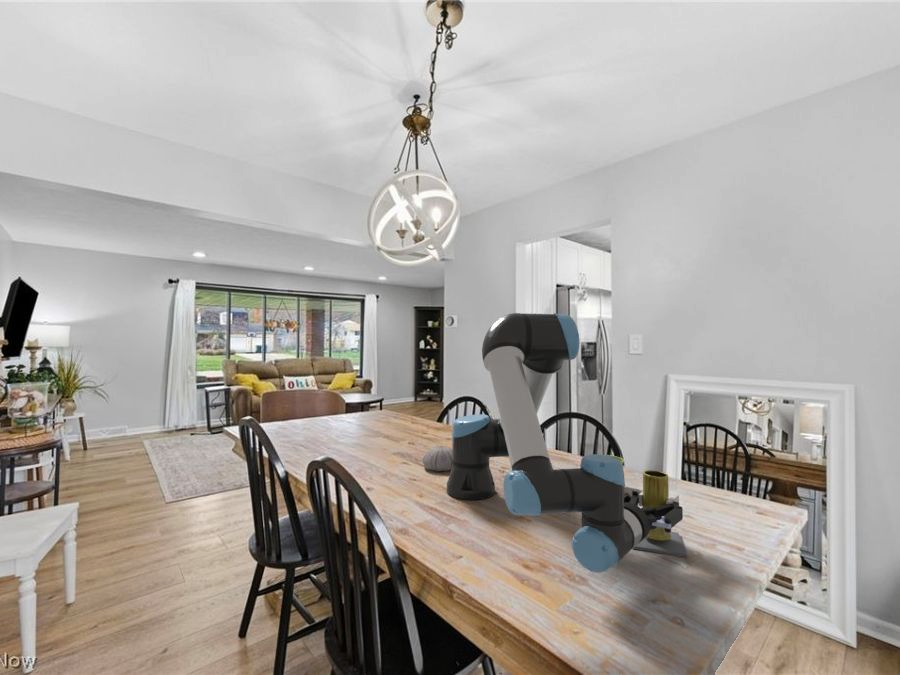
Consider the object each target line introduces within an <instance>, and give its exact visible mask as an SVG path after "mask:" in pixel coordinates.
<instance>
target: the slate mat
mask: <svg viewBox="0 0 900 675" xmlns="http://www.w3.org/2000/svg"><path fill="white" fill-rule="evenodd" d="M670 534H671V538H670V539H669V540H666V541H658V540H653V539H650V538H648V537H645V538H644V539H643V540H642V541H641V542H640V543H638V544H637V545H636V546H635V547H634V548H633V549H632V550H639V551H645V552H651V553H659V554H664V555H669V556H675V557H676V556H677V557H682V558H688V553H687V550H686V547H685V545H684V542H683V541H682V538H681V535H680V533H679V532H677V531H671V532H670Z"/></svg>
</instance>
